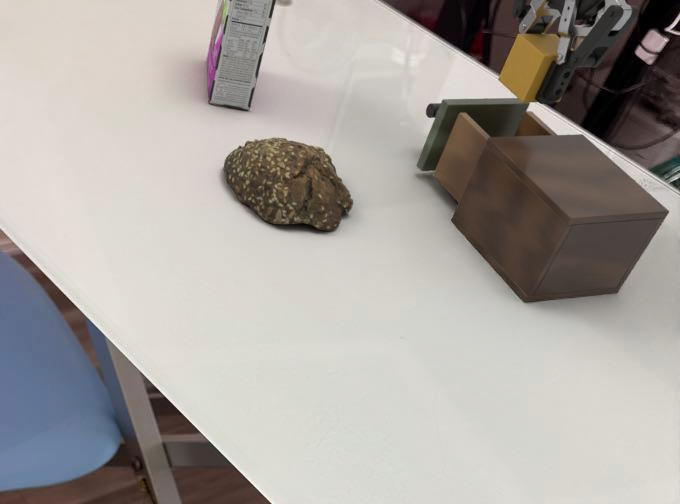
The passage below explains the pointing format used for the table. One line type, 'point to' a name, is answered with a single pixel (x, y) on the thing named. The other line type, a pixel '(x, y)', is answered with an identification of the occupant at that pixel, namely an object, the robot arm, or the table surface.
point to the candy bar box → (237, 50)
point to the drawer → (471, 135)
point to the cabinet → (556, 216)
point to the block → (529, 64)
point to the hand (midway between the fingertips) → (530, 88)
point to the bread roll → (288, 183)
